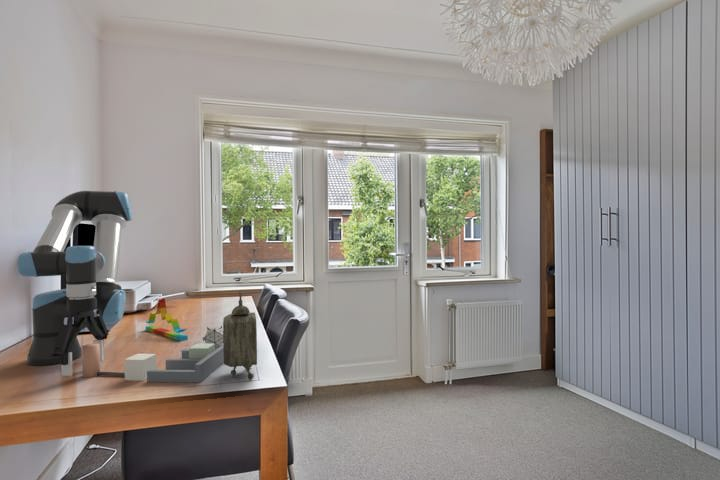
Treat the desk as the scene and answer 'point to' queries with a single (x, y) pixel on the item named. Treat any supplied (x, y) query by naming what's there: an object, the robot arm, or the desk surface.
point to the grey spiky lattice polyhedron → (214, 336)
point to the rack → (188, 368)
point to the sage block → (201, 350)
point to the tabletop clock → (240, 338)
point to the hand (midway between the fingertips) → (83, 367)
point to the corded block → (133, 365)
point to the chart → (164, 332)
